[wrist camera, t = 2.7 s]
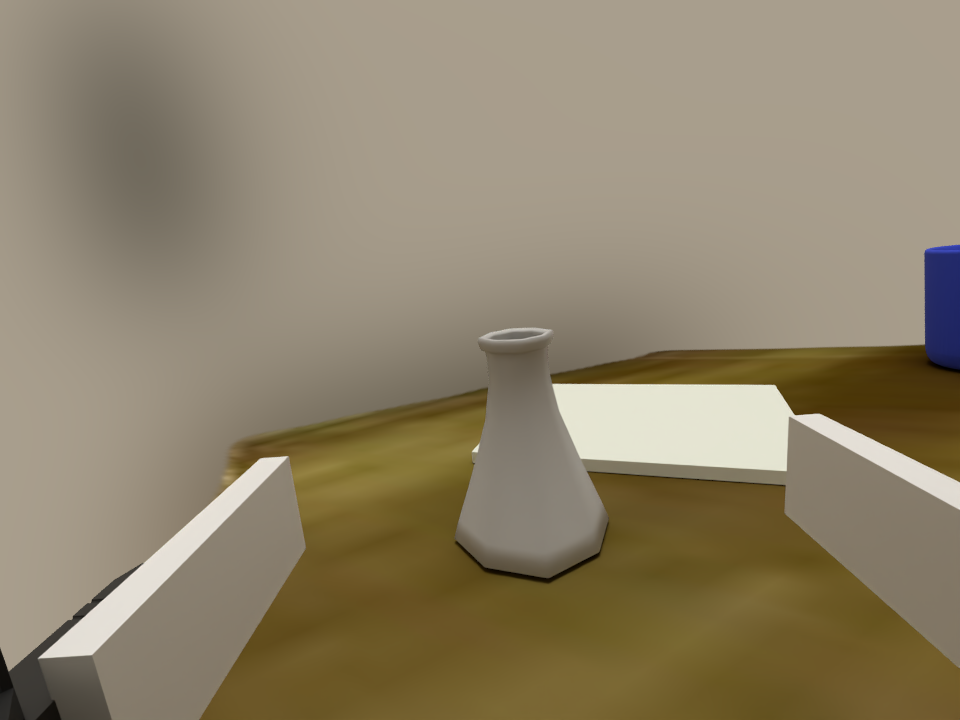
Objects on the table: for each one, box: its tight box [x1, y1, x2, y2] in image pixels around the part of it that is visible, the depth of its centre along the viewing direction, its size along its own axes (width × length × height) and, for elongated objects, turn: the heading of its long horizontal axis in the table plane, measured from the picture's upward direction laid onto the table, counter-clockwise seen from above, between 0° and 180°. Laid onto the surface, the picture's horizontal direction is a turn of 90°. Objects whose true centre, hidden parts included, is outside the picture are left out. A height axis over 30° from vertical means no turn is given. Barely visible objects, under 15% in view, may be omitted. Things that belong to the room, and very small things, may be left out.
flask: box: [455, 328, 609, 578], centre depth 23 cm, size 7×7×10 cm
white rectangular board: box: [472, 384, 795, 485], centre depth 36 cm, size 20×16×1 cm
